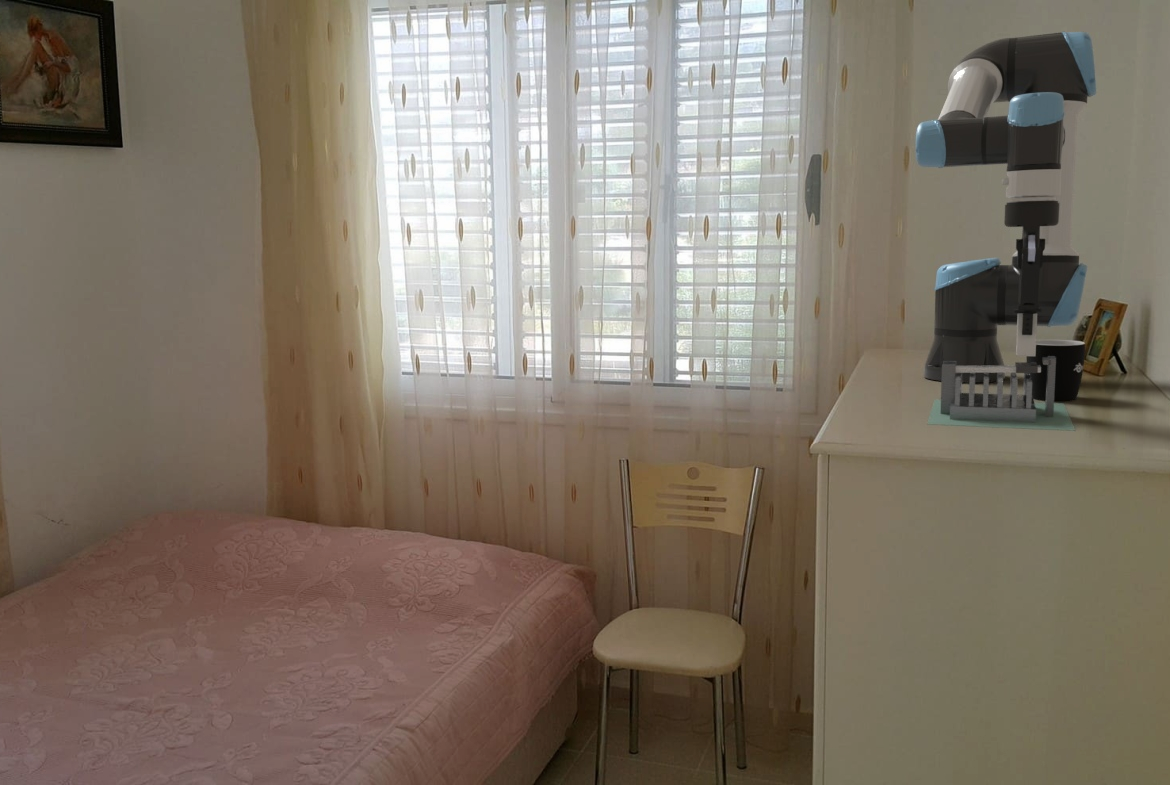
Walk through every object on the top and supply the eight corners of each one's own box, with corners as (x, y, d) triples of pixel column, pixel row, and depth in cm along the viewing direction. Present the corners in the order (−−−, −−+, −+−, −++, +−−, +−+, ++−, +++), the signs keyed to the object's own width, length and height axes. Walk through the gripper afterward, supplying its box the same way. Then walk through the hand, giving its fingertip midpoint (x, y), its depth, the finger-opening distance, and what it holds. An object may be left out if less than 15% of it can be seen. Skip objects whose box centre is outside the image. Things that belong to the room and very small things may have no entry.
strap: (945, 370, 163) (945, 362, 163) (1039, 370, 158) (1039, 362, 158) (944, 374, 158) (944, 366, 158) (1041, 374, 153) (1041, 366, 153)
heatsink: (942, 404, 168) (944, 350, 167) (1050, 408, 162) (1052, 352, 161) (939, 418, 155) (940, 360, 154) (1055, 423, 150) (1058, 362, 148)
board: (934, 402, 174) (934, 399, 173) (1063, 407, 166) (1063, 403, 166) (926, 428, 151) (927, 424, 151) (1075, 434, 144) (1075, 430, 144)
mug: (1079, 407, 166) (1082, 345, 164) (1020, 404, 170) (1022, 344, 169) (1087, 397, 176) (1090, 338, 174) (1031, 393, 180) (1034, 337, 179)
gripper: (1004, 201, 160) (998, 350, 164) (1005, 200, 148) (999, 360, 152) (1056, 199, 157) (1050, 350, 161) (1062, 198, 145) (1055, 361, 149)
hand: (1025, 355), depth 156 cm, fingers closed
